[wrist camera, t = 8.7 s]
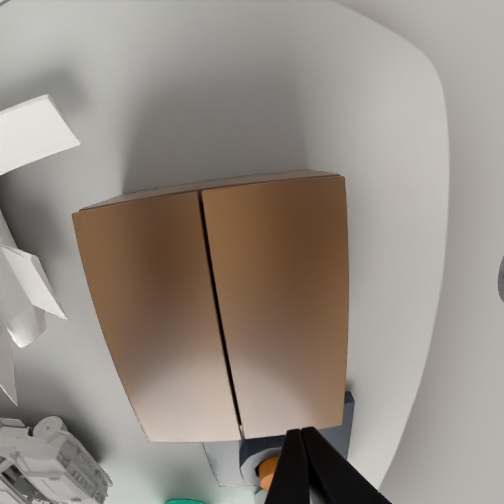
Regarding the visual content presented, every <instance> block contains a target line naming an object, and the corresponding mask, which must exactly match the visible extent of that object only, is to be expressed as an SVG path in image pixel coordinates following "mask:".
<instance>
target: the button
mask: <svg viewBox="0 0 504 504" xmlns="http://www.w3.org/2000/svg"><path fill="white" fill-rule="evenodd" d="M278 459H279V456H273V457H271V458H269V459H266V460H264V461H263V462H262V463H261V464H260V466H259V477H260V486H261V487H262V488H263V489H264V490H266V491H268V490H269V487H270V484H271V481H272V478H273V475H274V472H275V469H276V465H277V462H278Z"/></svg>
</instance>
